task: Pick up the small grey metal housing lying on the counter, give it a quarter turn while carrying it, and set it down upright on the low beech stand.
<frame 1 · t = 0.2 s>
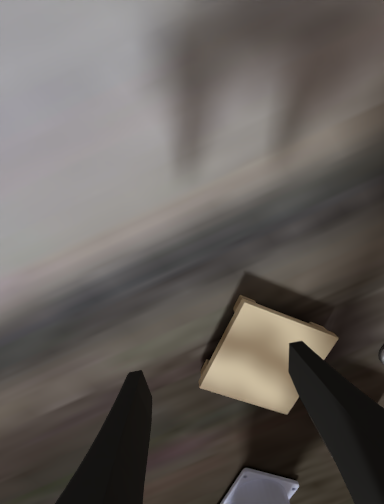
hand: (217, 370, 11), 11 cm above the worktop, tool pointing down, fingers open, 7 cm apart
stand: (260, 349, 23), on the worktop
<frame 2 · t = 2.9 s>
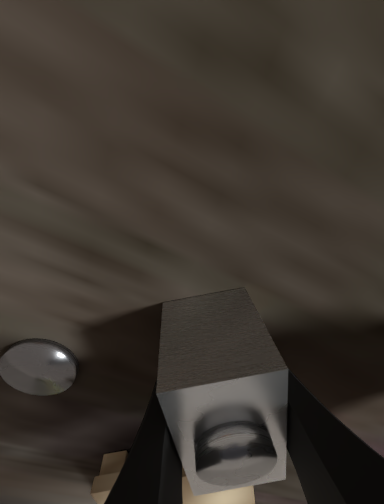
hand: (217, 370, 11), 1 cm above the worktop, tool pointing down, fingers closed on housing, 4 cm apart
housing: (212, 347, 12), on the worktop, touching gripper
round metal disc: (46, 359, 12), on the worktop
stand: (183, 474, 17), on the worktop
when the fingers open (5 cm above the worktop, at t = 5.9 s): housing stays where it is, resting on stand.
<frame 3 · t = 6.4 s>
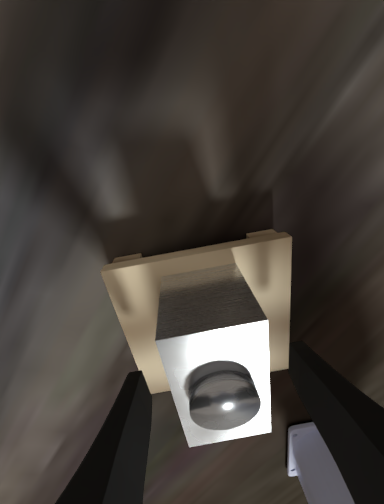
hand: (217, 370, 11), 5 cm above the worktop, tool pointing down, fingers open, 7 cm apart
housing: (207, 320, 13), point 2 cm above the worktop, touching stand
stand: (204, 306, 15), on the worktop
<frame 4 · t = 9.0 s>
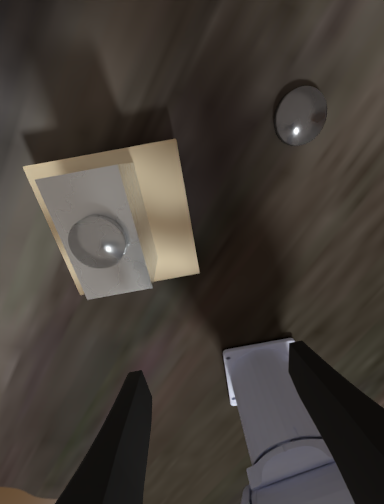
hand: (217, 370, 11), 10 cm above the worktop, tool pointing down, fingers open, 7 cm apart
housing: (119, 218, 16), point 2 cm above the worktop, touching stand
round metal disc: (296, 118, 16), on the worktop
stand: (127, 219, 18), on the worktop
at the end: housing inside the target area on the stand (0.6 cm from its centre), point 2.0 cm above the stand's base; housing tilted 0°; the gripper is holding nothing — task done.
